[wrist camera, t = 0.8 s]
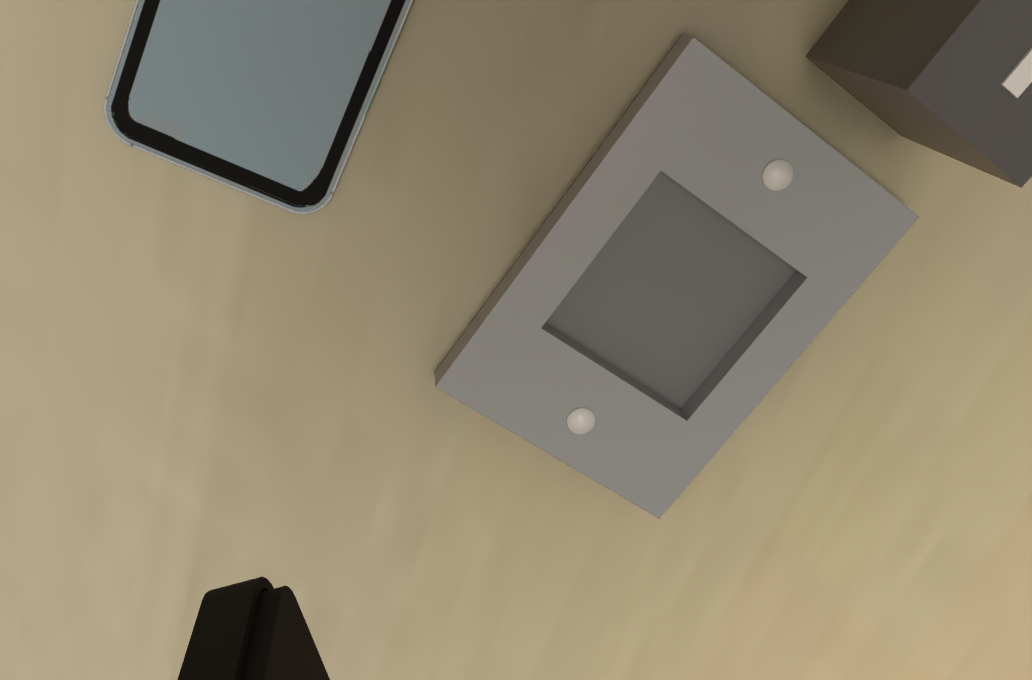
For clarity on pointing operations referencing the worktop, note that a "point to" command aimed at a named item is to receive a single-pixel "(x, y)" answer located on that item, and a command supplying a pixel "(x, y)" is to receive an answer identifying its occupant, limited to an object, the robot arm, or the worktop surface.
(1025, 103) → the block
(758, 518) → the worktop surface
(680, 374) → the outlet plate
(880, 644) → the worktop surface
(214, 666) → the robot arm
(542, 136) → the worktop surface
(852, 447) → the worktop surface
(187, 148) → the smartphone
